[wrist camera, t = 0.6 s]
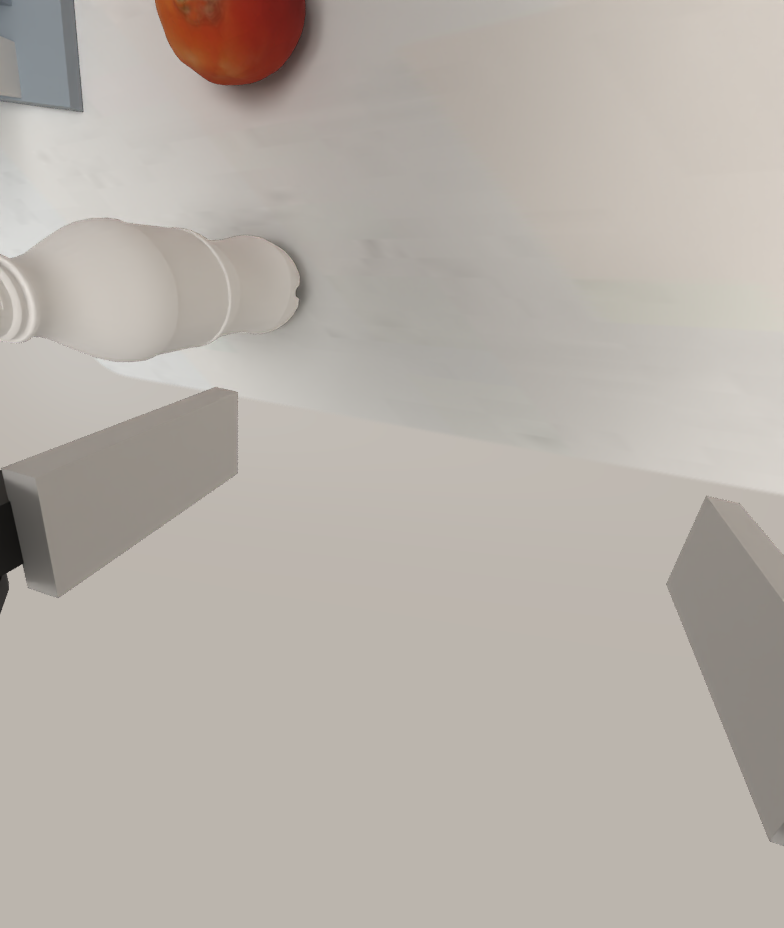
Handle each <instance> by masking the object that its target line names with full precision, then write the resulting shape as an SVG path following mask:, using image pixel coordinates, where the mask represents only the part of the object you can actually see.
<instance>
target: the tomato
mask: <svg viewBox="0 0 784 928" xmlns="http://www.w3.org/2000/svg"><path fill="white" fill-rule="evenodd" d="M155 4H156V8H157V12H158V15H159V18H160V21H161V23H162V26H163V28H164V31H165V35H166V38H167V40H168V42H169V44H170V46H171V48H172V49H173V51H174V53H175V54H176V56H177V57H178V58H179V59H180V60H181V61H182V62H183V63H184V64H186V65H187V66H189V67H190V68H191V69H193V70H194V71H195V72H197V73H198V74H199V75H201V76H202V77H203V78H205V79H206V80H208V81H210V82H212V83H215V84H220V85H243V84H250V83H253V82H256V81H259V80H262V79H263V78H266V77H267V76H269V75H270V74H272V73H274V72H276V71H277V70H278V69H279V68H280V67H281V66H282V65H283V64H284V63H285V62H286V60H287V59H288V58H289V57H290V55H291V54H292V52H293V50H294V48H295V47H296V45H297V43H298V40H299V38H300V36H301V33H302V30H303V26H304V21H305V0H155Z"/></svg>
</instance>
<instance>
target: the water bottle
mask: <svg viewBox="0 0 784 928" xmlns="http://www.w3.org/2000/svg"><path fill="white" fill-rule="evenodd" d="M299 284H300V275H299V272H298V270H297V268H296V266H295V263H294V262H293V261H292V259H291V258H290V256H289V255H288V254H287V253H286V252H285V251H284V250H282V249H281V248H280V247H278V246H276V245H274V244H273V243H271V242H269V241H267V240H265V239H263V238H261V237H256V236H250V235H239V236H234V237H230V238H227V239H222V240H208V239H207V238H205V237H203V236H201V235H200V234H198V233H196V232H193V231H191V230H188V229H183V228H173V227H171V228H166V227H158V226H150V225H141V224H133V223H126V222H124V221H121V220H118V219H112V218H90V219H85V220H81V221H77V222H73V223H71V224H68V225H66V226H64V227H62V228H60V229H58V230H57V231H55V232H54V233H52V234H50V235H49V236H47V237H46V238H44V239H43V240H42V241H40V242H39V243H37V244H36V245H35V246H34V247H32V248H31V249H30V250H28V251H27V252H26V253H24V254H22V255H19V256H17V257H14V258H8V257H6V256H3V255H1V254H0V342H8V343H22V342H26V341H28V340H29V339H31V338H32V337H42V338H47V339H50V340H52V341H55V342H57V343H60V344H62V345H64V346H67V347H69V348H71V349H74V350H77V351H79V352H82V353H85V354H87V355H90V356H93V357H96V358H100V359H104V360H109V361H115V362H136V361H144V360H147V359H150V358H153V357H154V356H156V355H160V354H164V353H169V352H173V351H178V350H182V349H187V348H193V347H200V346H204V345H207V344H209V343H211V342H213V341H214V340H216V339H217V338H219V337H221V336H224V335H228V334H231V333H238V332H246V333H250V334H263V333H267V332H270V331H273V330H276V329H278V328H279V327H281V326H282V325H283V324H285V323H286V322H287V321H288V320H289V319H290V318H291V317H292V316H293V314H294V313H295V311H296V309H297V308H298V304H299V298H297V297H296V288H297V287H298V286H299Z"/></svg>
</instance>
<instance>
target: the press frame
mask: <svg viewBox="0 0 784 928" xmlns="http://www.w3.org/2000/svg"><path fill="white" fill-rule="evenodd" d="M0 101H4V102H12V103H20V104H27V105H35V106H42V107H50V108H57V109H65V110H73V111H80V112H83V106H82V94H81V83H80V71H79V60H78V48H77V37H76V25H75V14H74V2H73V0H0Z"/></svg>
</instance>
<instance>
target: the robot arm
mask: <svg viewBox="0 0 784 928" xmlns="http://www.w3.org/2000/svg"><path fill="white" fill-rule="evenodd" d="M1 469H2V470H0V613H1V610H2V607H3V604H4V602H5V599H6V596H7V593H8V590H9V582H8V578H7V574H6V573H8V572H9V571H11V570H13V569H14V568H16V567H18V566H20V565H21V564H23V568H24V572H25V577H26V582H27V586H28V588H30V589H33V590H36V591H39V592H41V593H44V594H47V595H50V596H53V597H56V598H59V597H61V596H62V595H64V594H65V593H66V592H68V591H69V590H71V589H72V588H74V587H75V586H77V585H78V584H79V583H81V582H82V581H84V580H85V579H87V578H88V577H89V576H91V575H92V574H94V573H95V572H97V571H98V570H100V569H101V568H102V567H104V566H105V565H107V564H108V563H110V562H111V561H112V560H114V559H115V558H117V557H118V556H120V555H121V554H123V553H124V552H125V551H127V550H128V549H130V548H131V547H133V546H134V545H136V544H137V543H138V542H140V541H141V540H143V539H144V538H146V537H147V536H148V535H150V534H151V533H153V532H154V531H156V530H157V529H159V528H160V527H161V526H163V525H164V524H166V523H167V522H168V521H170V520H171V519H173V518H174V517H176V516H177V515H179V514H180V513H182V512H183V511H184V510H186V509H187V508H189V507H190V506H192V505H193V504H194V503H196V502H197V501H199V500H200V499H202V498H203V497H205V496H206V495H207V494H209V493H210V492H211V491H213V490H215V489H216V488H217V487H219V486H220V485H222V484H223V483H225V482H226V481H227V480H229V479H230V478H232V477H233V476H235V475H236V474H237V473H238V392H236V391H231V390H227V389H222V388H218V387H214V388H211V389H209V390H206V391H204V392H201V393H198V394H196V395H193V396H190V397H188V398H185V399H183V400H180V401H177V402H175V403H172V404H169V405H167V406H164V407H162V408H159V409H156V410H153V411H151V412H148V413H146V414H143V415H140V416H138V417H135V418H132V419H130V420H127V421H125V422H122V423H119V424H117V425H114V426H111V427H109V428H106V429H104V430H101V431H98V432H95V433H93V434H90V435H87V436H85V437H82V438H80V439H77V440H74V441H72V442H69V443H67V444H64V445H61V446H59V447H56V448H53V449H51V450H48V451H45V452H43V453H40V454H37V455H35V456H32V457H29V458H27V459H24V460H22V461H19V462H16V463H14V464H11V465H9V466H6V467H3V468H1ZM666 585H667V587H668V590H669V592H670V595H671V597H672V600H673V602H674V605H675V607H676V609H677V612H678V615H679V617H680V620H681V622H682V625H683V627H684V629H685V632H686V634H687V637H688V639H689V642H690V645H691V647H692V649H693V652H694V655H695V657H696V660H697V662H698V665H699V667H700V670H701V672H702V675H703V677H704V680H705V682H706V685H707V687H708V690H709V692H710V694H711V697H712V699H713V702H714V704H715V707H716V709H717V712H718V714H719V717H720V719H721V722H722V724H723V727H724V729H725V732H726V734H727V737H728V739H729V742H730V744H731V747H732V749H733V752H734V754H735V757H736V759H737V762H738V764H739V767H740V769H741V772H742V774H743V777H744V779H745V782H746V784H747V787H748V789H749V792H750V794H751V797H752V799H753V802H754V804H755V807H756V809H757V811H758V814H759V817H760V819H761V821H762V824H763V826H764V829H765V831H766V834H767V836H768V839H769V841H770V842H773V843H776V844H779V845H782V846H784V555H783V554H782V553H781V552H780V550H779V549H778V548H777V547H776V546H775V545H774V543H773V542H772V541H771V540H770V539H769V537H768V536H767V535H766V534H765V533H764V531H763V530H762V529H761V528H760V527H759V526H758V524H757V523H756V522H755V521H754V520H753V518H752V517H751V516H750V515H749V514H748V513H747V511H746V510H745V509H744V508H743V507H742V505H741V504H740V503H736V502H732V501H727V500H722V499H718V498H714V497H709V496H706V497H705V500H704V502H703V504H702V506H701V509H700V511H699V513H698V515H697V517H696V520H695V522H694V524H693V526H692V528H691V531H690V533H689V535H688V537H687V539H686V542H685V544H684V546H683V548H682V550H681V553H680V555H679V557H678V559H677V562H676V564H675V566H674V568H673V570H672V572H671V575H670V577H669V579H668V581H667V583H666Z"/></svg>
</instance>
